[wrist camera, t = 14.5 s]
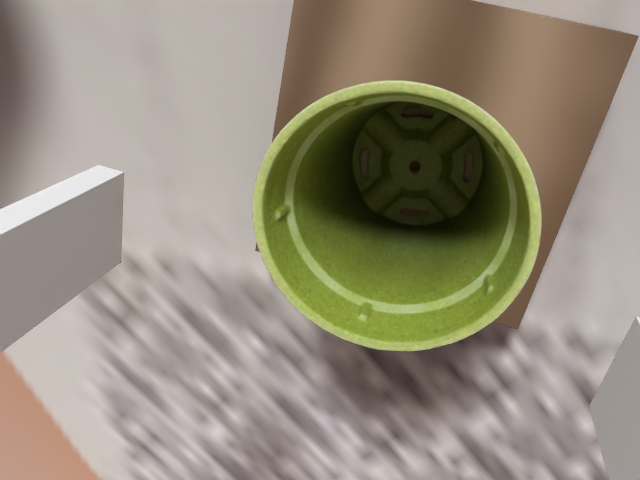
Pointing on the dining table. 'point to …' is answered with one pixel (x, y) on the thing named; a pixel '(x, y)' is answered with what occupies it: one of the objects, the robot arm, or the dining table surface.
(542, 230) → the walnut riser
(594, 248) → the dining table surface
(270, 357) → the dining table surface
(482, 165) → the plant pot
